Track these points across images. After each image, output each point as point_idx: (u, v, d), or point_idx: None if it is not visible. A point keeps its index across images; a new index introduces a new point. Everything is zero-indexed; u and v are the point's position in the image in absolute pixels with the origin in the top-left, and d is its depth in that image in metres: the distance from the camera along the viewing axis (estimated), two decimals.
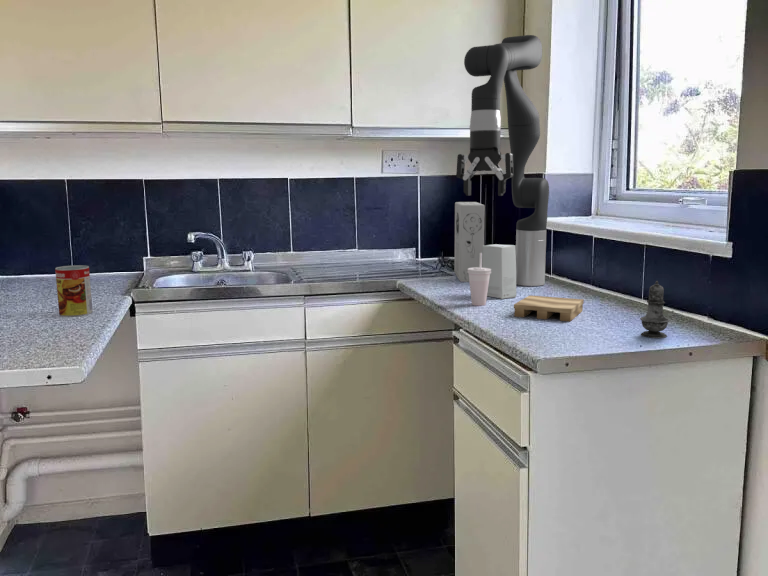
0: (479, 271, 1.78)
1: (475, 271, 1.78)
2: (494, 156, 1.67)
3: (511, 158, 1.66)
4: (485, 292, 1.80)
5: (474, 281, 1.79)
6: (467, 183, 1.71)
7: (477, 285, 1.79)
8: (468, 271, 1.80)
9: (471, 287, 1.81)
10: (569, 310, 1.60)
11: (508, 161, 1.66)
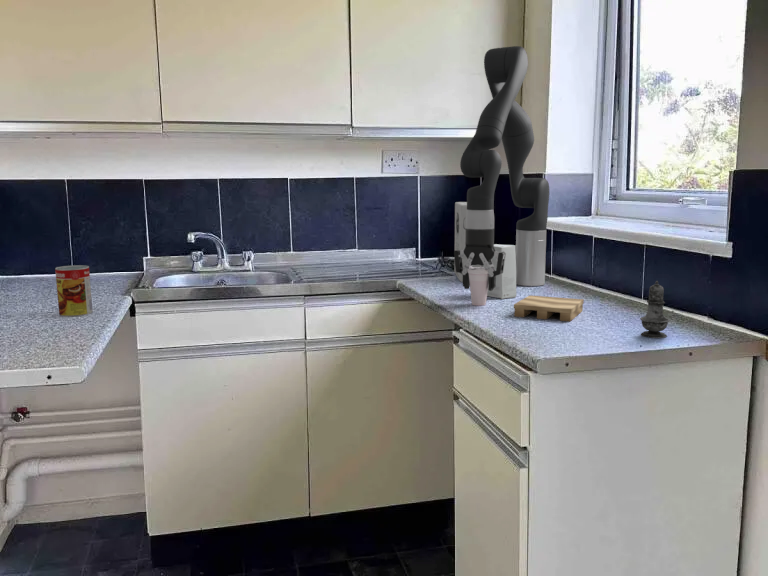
0: (479, 271, 1.78)
1: (475, 271, 1.78)
2: (488, 252, 1.78)
3: (503, 257, 1.77)
4: (485, 292, 1.80)
5: (474, 281, 1.79)
6: (466, 277, 1.82)
7: (477, 285, 1.79)
8: (468, 271, 1.80)
9: (471, 287, 1.81)
10: (569, 310, 1.60)
11: (500, 260, 1.77)
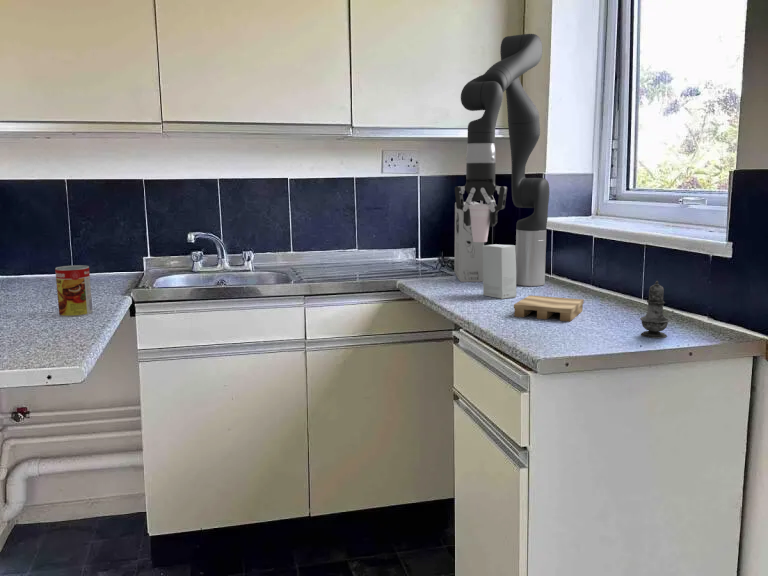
0: (480, 206, 1.75)
1: (476, 206, 1.75)
2: (489, 187, 1.75)
3: (505, 191, 1.74)
4: (486, 228, 1.77)
5: (475, 217, 1.77)
6: (467, 214, 1.79)
7: (478, 221, 1.76)
8: (469, 207, 1.77)
9: (472, 223, 1.78)
10: (569, 310, 1.60)
11: (501, 194, 1.74)
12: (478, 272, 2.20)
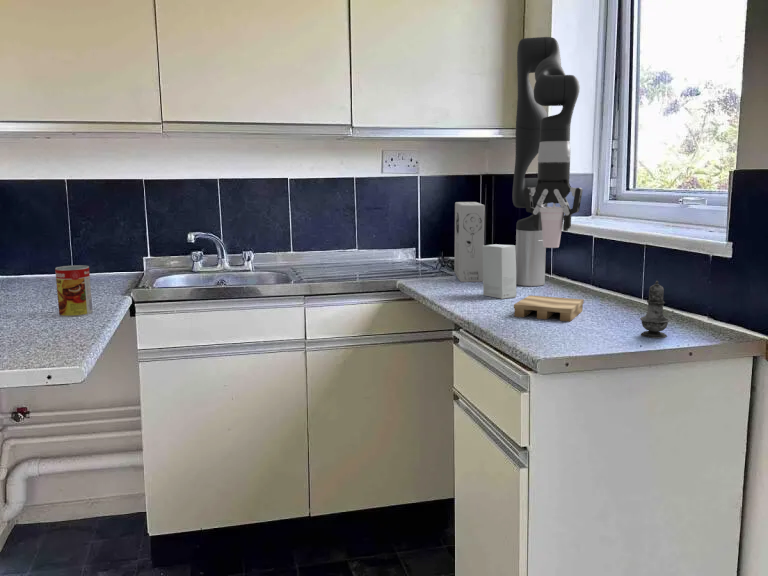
0: (554, 209, 1.63)
1: (549, 209, 1.63)
2: (564, 188, 1.62)
3: (581, 193, 1.62)
4: (559, 233, 1.65)
5: (547, 221, 1.64)
6: (537, 217, 1.67)
7: (551, 225, 1.64)
8: (541, 210, 1.65)
9: (543, 227, 1.65)
10: (569, 310, 1.60)
11: (577, 196, 1.61)
12: (478, 272, 2.20)
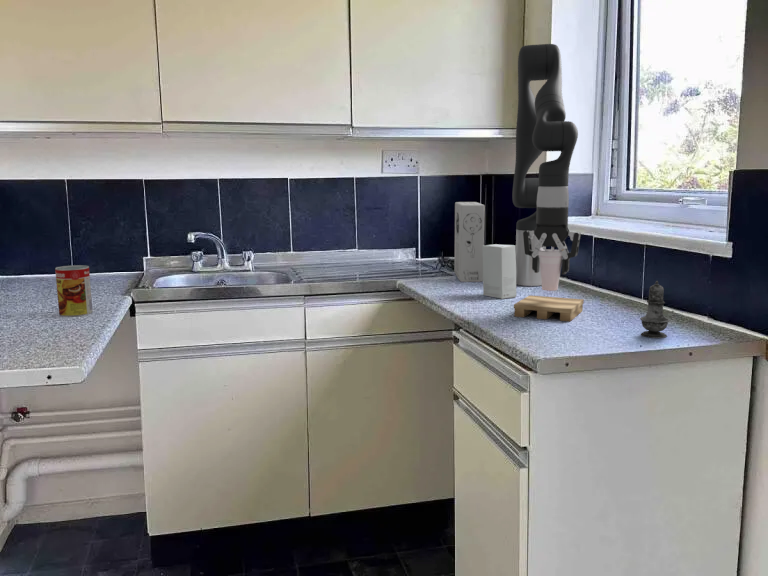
0: (552, 253, 1.64)
1: (548, 253, 1.65)
2: (562, 232, 1.64)
3: (579, 238, 1.64)
4: (558, 276, 1.67)
5: (546, 264, 1.66)
6: (536, 260, 1.68)
7: (550, 268, 1.65)
8: (539, 253, 1.67)
9: (542, 270, 1.67)
10: (569, 310, 1.60)
11: (575, 241, 1.63)
12: (478, 272, 2.20)
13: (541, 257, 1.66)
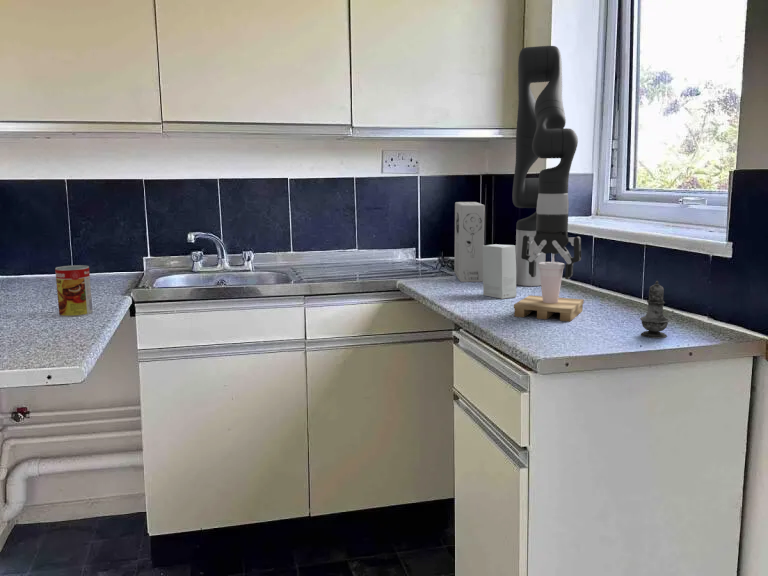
0: (552, 266, 1.65)
1: (548, 266, 1.65)
2: (562, 239, 1.64)
3: (579, 242, 1.64)
4: (558, 288, 1.67)
5: (546, 277, 1.66)
6: (533, 265, 1.69)
7: (550, 281, 1.66)
8: (540, 266, 1.67)
9: (542, 283, 1.68)
10: (569, 310, 1.60)
11: (577, 245, 1.63)
12: (478, 272, 2.20)
13: (541, 270, 1.67)
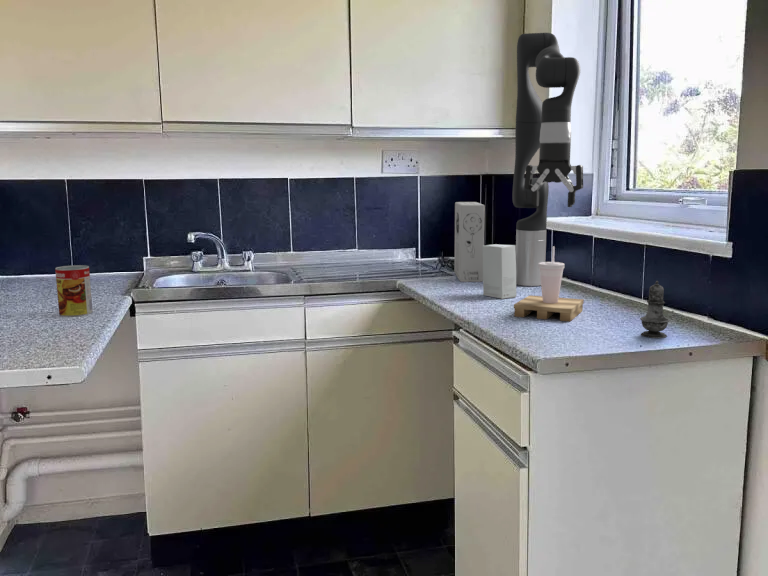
0: (553, 266, 1.65)
1: (548, 266, 1.65)
2: (564, 168, 1.68)
3: (582, 170, 1.67)
4: (558, 288, 1.67)
5: (546, 277, 1.66)
6: (536, 194, 1.73)
7: (550, 281, 1.66)
8: (540, 266, 1.67)
9: (542, 283, 1.68)
10: (569, 310, 1.60)
11: (579, 173, 1.66)
12: (478, 272, 2.20)
13: (541, 270, 1.67)
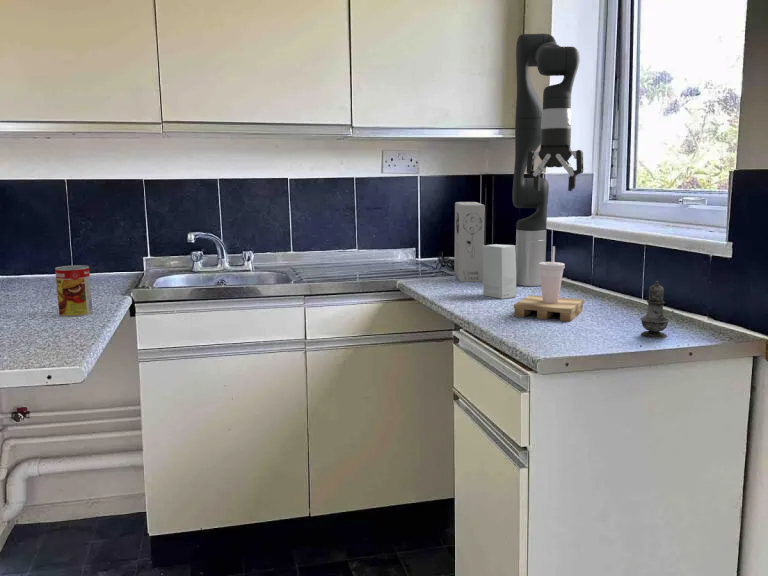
0: (553, 266, 1.65)
1: (548, 266, 1.65)
2: (565, 153, 1.74)
3: (582, 155, 1.73)
4: (558, 288, 1.67)
5: (546, 277, 1.66)
6: (537, 179, 1.78)
7: (550, 281, 1.66)
8: (540, 266, 1.67)
9: (542, 283, 1.68)
10: (569, 310, 1.60)
11: (579, 158, 1.72)
12: (478, 272, 2.20)
13: (541, 270, 1.67)
